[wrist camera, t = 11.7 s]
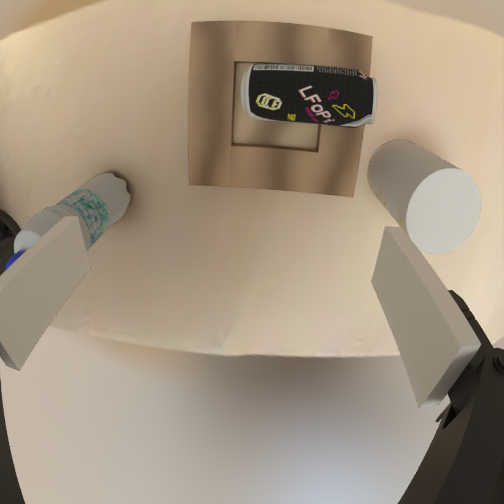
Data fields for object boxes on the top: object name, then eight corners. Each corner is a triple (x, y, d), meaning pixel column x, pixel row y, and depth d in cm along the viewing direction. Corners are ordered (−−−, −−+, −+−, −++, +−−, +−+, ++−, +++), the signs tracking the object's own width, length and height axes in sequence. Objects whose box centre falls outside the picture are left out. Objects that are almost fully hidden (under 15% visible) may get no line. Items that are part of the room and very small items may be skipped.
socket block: (194, 178, 35) (188, 184, 33) (197, 26, 26) (191, 22, 23) (348, 190, 34) (353, 197, 32) (365, 39, 25) (372, 36, 23)
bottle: (91, 165, 34) (-20, 239, 17) (137, 170, 34) (33, 255, 17) (93, 212, 38) (1, 303, 20) (135, 219, 38) (52, 324, 21)
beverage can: (249, 128, 29) (369, 138, 27) (234, 107, 24) (379, 117, 21) (255, 80, 29) (369, 88, 26) (242, 53, 23) (377, 61, 21)
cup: (355, 186, 34) (388, 232, 23) (387, 127, 30) (438, 149, 20) (406, 215, 35) (448, 266, 25) (438, 161, 31) (493, 197, 21)
